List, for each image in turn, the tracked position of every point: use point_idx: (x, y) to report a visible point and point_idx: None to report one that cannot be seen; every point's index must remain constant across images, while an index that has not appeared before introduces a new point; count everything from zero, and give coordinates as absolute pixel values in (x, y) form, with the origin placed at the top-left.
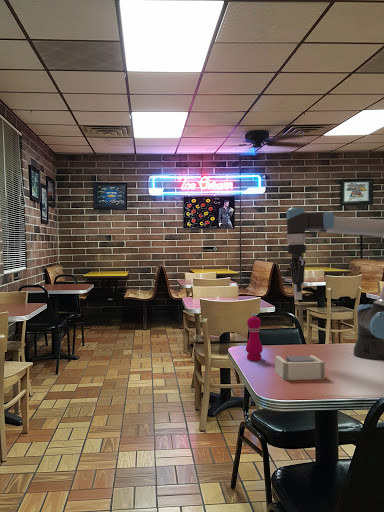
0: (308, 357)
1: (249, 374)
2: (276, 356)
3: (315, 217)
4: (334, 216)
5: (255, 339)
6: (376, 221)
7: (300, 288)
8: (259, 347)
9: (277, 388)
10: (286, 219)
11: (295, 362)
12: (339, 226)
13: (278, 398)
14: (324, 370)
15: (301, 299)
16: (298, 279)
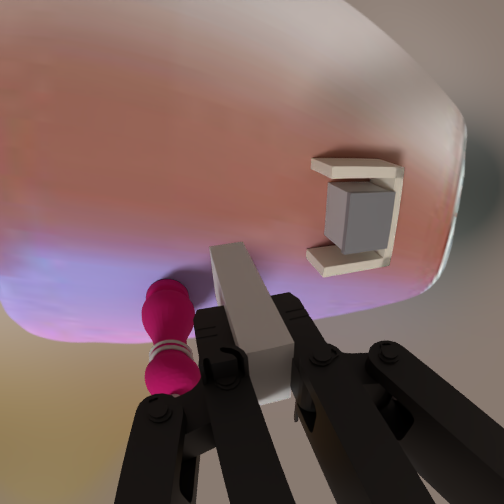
0: (367, 195)
1: (317, 311)
2: (328, 274)
3: None
4: None
5: (187, 334)
6: None
7: (307, 321)
8: (189, 307)
9: (404, 267)
10: None
11: (390, 238)
12: None
13: (435, 271)
14: (391, 163)
15: (242, 246)
16: (405, 413)
